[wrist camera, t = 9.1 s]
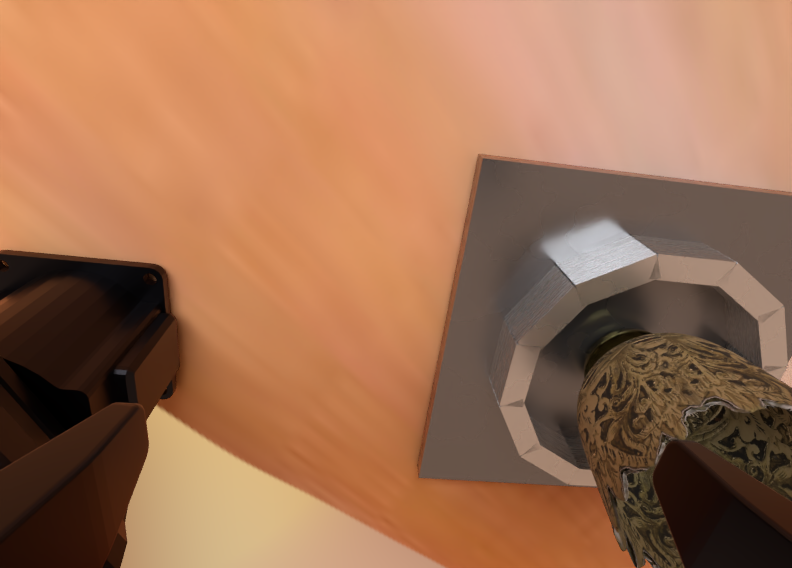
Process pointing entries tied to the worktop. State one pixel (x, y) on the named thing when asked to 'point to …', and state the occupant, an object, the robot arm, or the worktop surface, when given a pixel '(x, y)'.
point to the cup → (674, 425)
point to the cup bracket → (590, 302)
